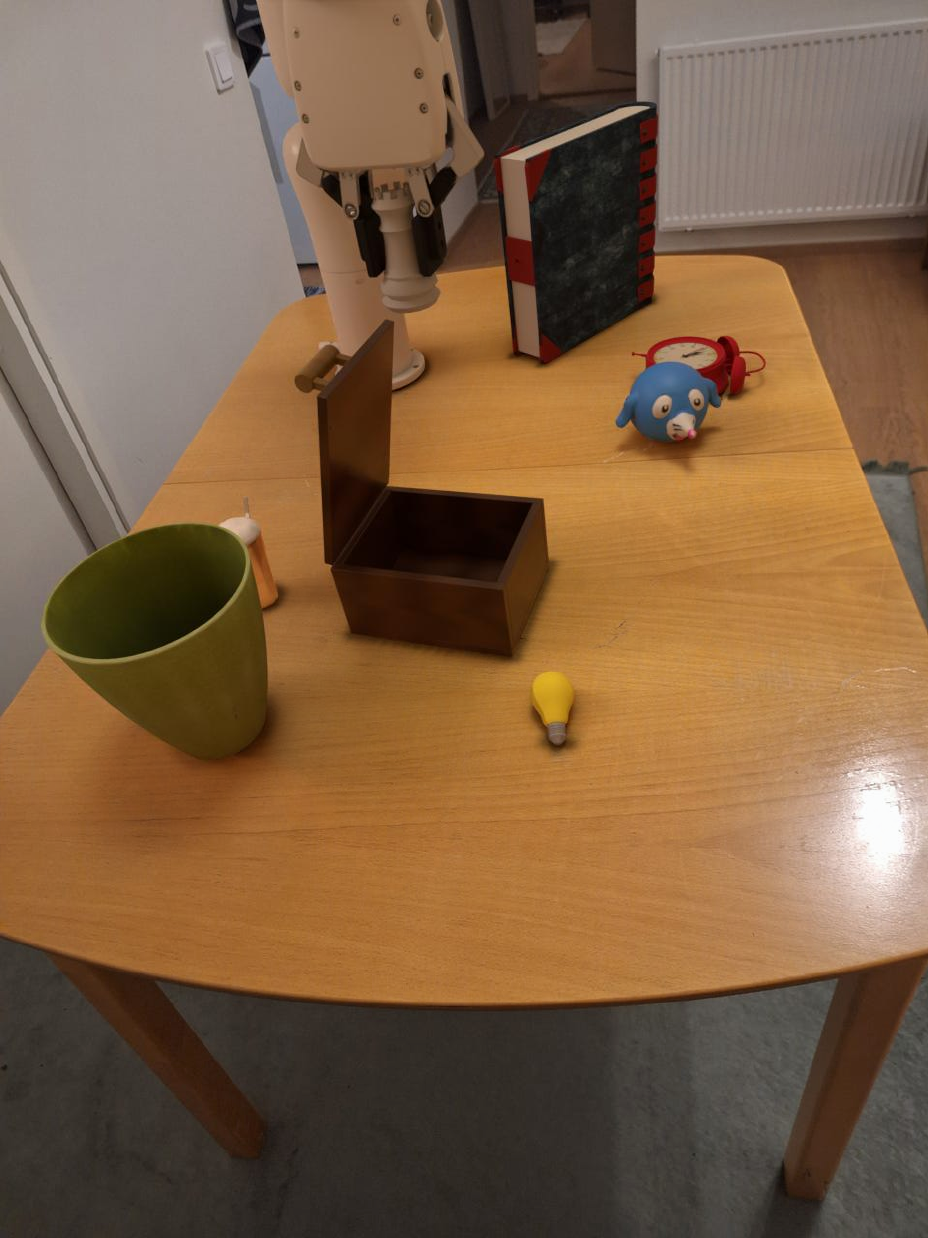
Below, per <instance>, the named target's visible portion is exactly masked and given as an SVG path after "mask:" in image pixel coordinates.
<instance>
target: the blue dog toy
mask: <svg viewBox="0 0 928 1238" xmlns="http://www.w3.org/2000/svg"><path fill="white" fill-rule="evenodd" d="M709 405H710V406H712V408H715V409H719V408H721V406H722V398H721V397H720V396H719V394H718V393H717V387H716V384H715V383H714V382H713V381H712V380H710V379H706V378H704V377H702V376H701V375H700V374H699V372H698V371H697V370H695V369H694V368H693V367H691V366H689V365H687V364H684V363H681V362H673V361H669V362H661V363H658V364H655V365H653V366H651V367H649V368H647V369H646V370H645V369H644V370H643V371H642V372H640V374H639V375H637V377H636V378H635V380H634V381H633V383H632V385H631V388H630V390H629V395H627V397H626V399H625V401H624V402H623V404H622V408H621V410H620V412H619V414H618V416H617V417H616V419H615V421H614V422H615V425H616V427H617V428H618V429H623V428H625V427H627V425H628V424H629V423H630V422H631V424H632V425H633V427H635V429H636V430H637V431H638V432H639V434H641V435H642V436H643V437H645V438H647V439H648V440H650V441H654V442H656V443H675V442H679V441H683V440H684V439H686V438H688V439H691V440H692V439H694V438H696V437H697V430H698V429H699V428H700V427H701V425H702V424H703V422H704V420H705V418H706V417H707V416H706V415H707V414H708V409H709Z"/></svg>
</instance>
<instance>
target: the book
mask: <svg viewBox="0 0 928 1238" xmlns="http://www.w3.org/2000/svg"><path fill="white" fill-rule="evenodd" d="M658 135H659V114H658V104H657V103H655V102H653V101H645V100H644V101H643V100H642V101H641V100H640V101H630V102H623V103H619V104H616V105H614V106H612V107H610V108H608V109H605V110H603V111H600V112H598V113H595V114H593V115H590V116H588V117H585V118H583V119H579V120H578V121H575V122H573V123H571V124H568V125H565V126H562V127H561V128H558V129H555V130H553V131H550V132H548V133H546V134H543V135H541V136H538V137H535V138H533V139H531V140H528V141H526V142H524V143H520V144H519V145H517V144H516V145H515V146H512V147H509V148H507V149H505V150H502V151H501V152H498V153H496V154H494V155H493V168H494V169H493V170H494V175H495V184H496V190H497V198H498V199H497V200H498V207H499V208H498V209H499V210H498V211H499V218H500V229H501V240H502V250H503V259H504V269H505V279H506V290H507V299H508V310H509V312H508V313H509V320H510V321H509V322H510V330H511V331H510V332H511V343H512V352H513V355H514V356H517V355H519V354H523V353H525V354H528V355H531V356H533V357H537V358H539V360H540V364H541V365H545V364H546V363H549V362H551V361H552V360H555V359H556V358H557V357H559V356H561V355H563V354H564V353H565V352H567V351H569V350H571V349H572V348H574V347H576V346H577V345H579V344H581V343H583V342H585V341H587V340H588V339H589V338H592V337H593V336H595V335H597V334H598V333H600V332H602V331H603V330H605V329H607V328H608V327H611V326H612V325H614V324H616V323H617V322H619V321H621V320H622V319H624V318H626V317H628V316H629V315H631V314H633V313H635V312H636V311H638V310H640V309H641V308H643V307H645V306H648V305H650V304H652V302H653V296H654V293H655V274H654V271H655V263H656V252H655V249H654V248H655V245H656V226H655V222H656V218H657V200H656V198H655V197H656V193H657V185H658V184H657V181H658V179H657V178H658V176H657V175H658V174H657V172H656V167H657V165H658V144H657V137H658Z"/></svg>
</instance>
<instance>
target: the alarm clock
mask: <svg viewBox="0 0 928 1238" xmlns="http://www.w3.org/2000/svg"><path fill="white" fill-rule="evenodd" d="M741 354H751V355H756V356H758V357H759V358H760V359H761V360H762V362H763V365H762V366H761V367H760V368H757V369H753V370H748V371H747V361H746V359H745V358H744V357H743V356H741ZM631 356H632V357H634V356H637V357H638V356H639V357H644V358H645V368H644V370H646V369H647V368H649V367H651V366H653V365H655V364H658V363H661V362H669V361H673V362H681V363H684V364H687V365H689V366H691V367H693V368H694V369H695V370H697V371H698V372H699V374H700V375H701V376H702V377H704V378H706V379H710V380H712V381H713V382H714V383H715V384H716V387H717V393H718V395H720V394H721V393H723V392H724V391H725V390H726V389H727V387H728V385H729V391H728V393H729V394H732V395H733V394H737V393H740V391H741V390H742V389H743V387H744V385H745V380H746V377H751V376H752V374H755V373H758V372H760V371H763V370H764V369H765V367H766V365H767V364H766V363H767V362H766V359H765V358H764V356H763V355H762V354H760V353H759V352H758V351H752V350H744V351H743V350H740V346H739V344H738V342H737V341H736V340H735V338H734V337H732V336H729V335H722V336H720V337H718V338H717V340H714V339H711V338H708V337H701V336H694V335H693V336H690V335H689V336H687V335H686V336H676V337H675V336H674V337H671V338H667V339H662V340H661V341H658V342H656V343H654V344H653V345H652V346H650V347H649V349H648V350H647V352H646V353H637V352H635V351H632V352H631ZM728 372H729V373H730V372H731V373H730V378H729V374H728Z"/></svg>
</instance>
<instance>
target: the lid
mask: <svg viewBox="0 0 928 1238" xmlns="http://www.w3.org/2000/svg"><path fill="white" fill-rule="evenodd" d="M393 341H394V321H391V320H387V319H385V320H384V321H383V322H382V324H381V325H380V326H379V327H378V328H377V329H376V330H375V331H374V333H373V334H372V335H371V336H370V337H369V338H368V339H367V340H366V341H365V343H364V344H363V345H362V346H361V347H360V348H359V349H358V350H357V352H356V353H355V354H354V355H353V356H352V357H351V356H348V355H344V354H340V352H339V350H338V349H337V348H336V347H335V346H333V345H330V344H329V345H325V346H324V347H323V348H322V349H321V350H320V351H319V350H318V352H317V353H316V354H315V355H314V356H313V357H312V358H311V359H310V360H309V361H308V362H307V363H306V365H304V367H302V368H301V369H300V371H299V372H298V373H297V374H296V375H295V376H294V379H293V382H294V386H295V387H296V389H298V390H299V392H300V393H303V394H309V393H312V392H313V390H316V391H319V392H318V394H317V395H316V405H317V406H316V411H317V430H318V432H317V433H318V450H319V451H318V452H319V453H318V454H319V455H318V456H319V472H320V494H321V495H320V496H321V498H320V499H321V517H322V519H321V520H322V537H323V538H322V539H323V559H324V560H323V561H324V564H326V565H328V566H331V567H332V566H333V564H334V563H335V561H336V560H337V559H338V557H339V556H340V554H341V553H342V551H343V550H344V548H345V547H346V545H347V544H348V542H349V541H350V539H351V538H352V536H353V535H354V533H355V532H356V530H357V529H358V528H359V526H360V525H361V523H362V522H363V520H364V519H365V517H366V516H367V514H368V513H369V511H370V510H371V508H372V507H373V505H374V504H375V502H376V501H377V500H378V498H379V497H380V495H381V494H382V492H383V491H384V489H385V488H386V486H389V483H390V463H391V433H392V432H391V430H392V403H393V402H392V401H393V400H392V399H393V390H392V373H393ZM337 365H340V366H343V367H342V368H341V369H340V371H339V372H338V373H337V374H336V375H335V374H334V376H333V377H332V378H331V379H330V380H329V379H325V377H326V376H327V375H328V374H329V373H330V372H331V371H332V370H333V369H334V368H335V366H337Z"/></svg>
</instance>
